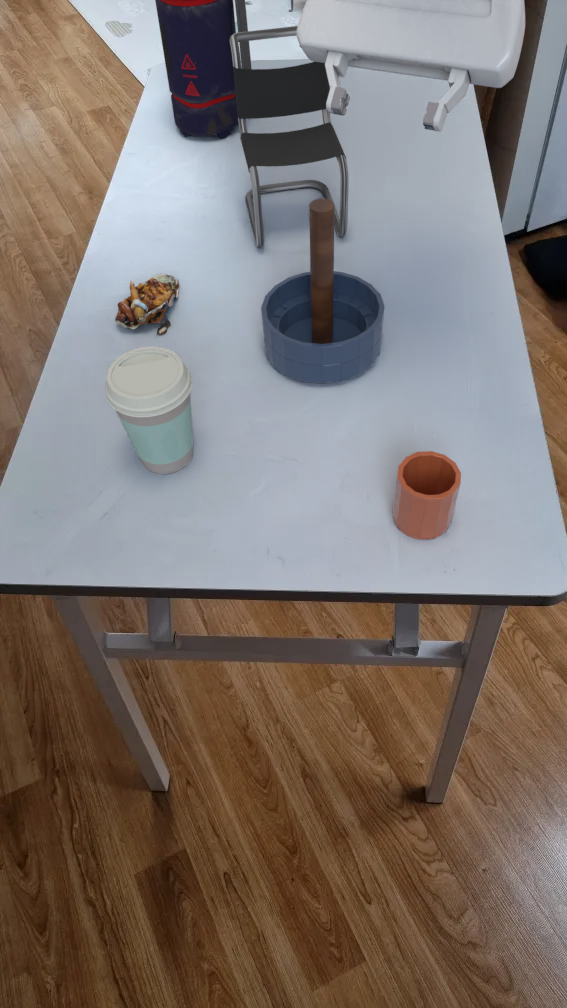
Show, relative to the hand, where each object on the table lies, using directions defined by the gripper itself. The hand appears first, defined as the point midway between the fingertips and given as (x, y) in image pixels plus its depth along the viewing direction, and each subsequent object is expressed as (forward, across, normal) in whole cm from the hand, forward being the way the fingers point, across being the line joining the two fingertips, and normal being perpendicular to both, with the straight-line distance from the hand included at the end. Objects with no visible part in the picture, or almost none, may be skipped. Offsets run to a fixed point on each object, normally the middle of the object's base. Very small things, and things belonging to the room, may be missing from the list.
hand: (382, 120), depth 66 cm
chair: (+3, -22, +36) cm, 42 cm away
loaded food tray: (+21, -30, +18) cm, 41 cm away
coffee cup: (+36, -14, +3) cm, 39 cm away
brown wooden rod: (+20, -6, +18) cm, 28 cm away
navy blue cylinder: (-12, -48, +50) cm, 71 cm away
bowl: (+20, -6, +19) cm, 28 cm away
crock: (+34, +14, +5) cm, 37 cm away
